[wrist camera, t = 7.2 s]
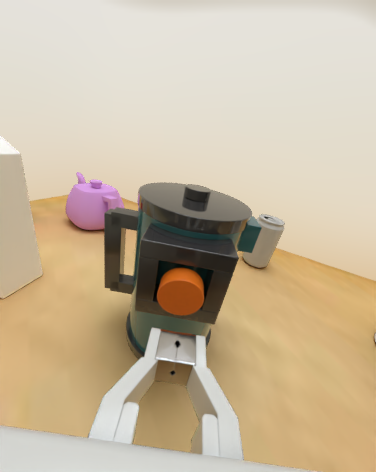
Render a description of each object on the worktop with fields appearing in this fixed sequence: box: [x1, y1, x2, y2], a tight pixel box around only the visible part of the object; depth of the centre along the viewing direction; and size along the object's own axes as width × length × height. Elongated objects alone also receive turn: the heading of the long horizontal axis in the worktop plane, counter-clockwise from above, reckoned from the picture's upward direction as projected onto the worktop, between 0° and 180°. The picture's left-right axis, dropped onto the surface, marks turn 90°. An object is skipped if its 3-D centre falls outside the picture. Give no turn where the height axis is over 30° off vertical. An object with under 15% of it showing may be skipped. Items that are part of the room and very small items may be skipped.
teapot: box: [66, 172, 124, 230], centre depth 50 cm, size 13×20×11 cm
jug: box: [104, 183, 262, 359], centre depth 22 cm, size 13×16×20 cm
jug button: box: [157, 268, 204, 315], centre depth 14 cm, size 2×3×3 cm, turn 87°
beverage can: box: [243, 214, 285, 268], centre depth 46 cm, size 6×6×12 cm
